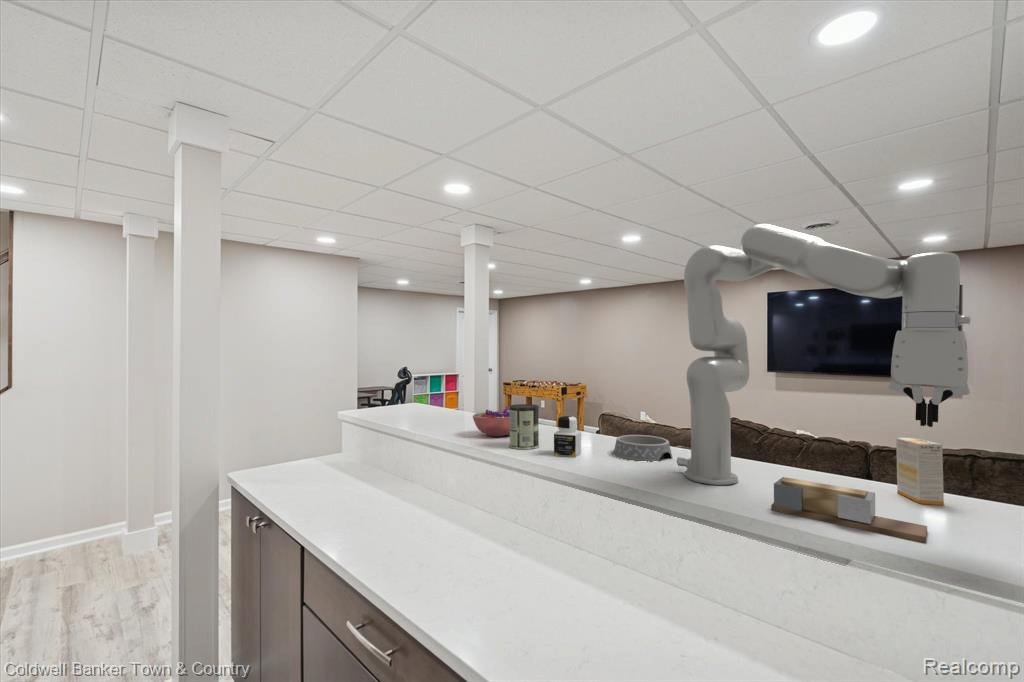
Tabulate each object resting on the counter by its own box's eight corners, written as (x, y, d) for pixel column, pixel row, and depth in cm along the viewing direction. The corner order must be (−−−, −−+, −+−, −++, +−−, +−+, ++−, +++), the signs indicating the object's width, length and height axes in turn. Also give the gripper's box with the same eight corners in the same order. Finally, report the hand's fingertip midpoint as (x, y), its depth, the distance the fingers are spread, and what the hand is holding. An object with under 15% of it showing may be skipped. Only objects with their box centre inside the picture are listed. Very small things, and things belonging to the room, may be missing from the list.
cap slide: (837, 517, 88) (837, 495, 89) (844, 508, 93) (843, 487, 94) (870, 524, 85) (870, 501, 85) (875, 514, 90) (875, 492, 90)
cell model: (471, 432, 187) (471, 404, 188) (520, 431, 190) (520, 403, 190) (472, 440, 171) (472, 409, 171) (526, 439, 173) (526, 409, 173)
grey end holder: (773, 505, 96) (773, 483, 96) (782, 497, 101) (782, 477, 101) (801, 511, 93) (801, 488, 93) (809, 502, 98) (809, 481, 98)
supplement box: (945, 505, 99) (944, 444, 99) (919, 504, 100) (918, 443, 100) (919, 494, 107) (918, 437, 107) (896, 492, 108) (895, 436, 108)
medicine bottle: (553, 455, 146) (553, 417, 146) (559, 451, 153) (559, 414, 153) (575, 457, 143) (575, 418, 144) (581, 452, 150) (581, 415, 150)
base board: (771, 509, 96) (771, 504, 96) (780, 501, 101) (780, 497, 101) (925, 542, 80) (925, 537, 80) (927, 531, 85) (927, 526, 85)
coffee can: (527, 442, 167) (527, 403, 167) (544, 447, 158) (544, 406, 159) (503, 445, 161) (503, 405, 161) (520, 451, 153) (520, 408, 153)
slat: (781, 504, 97) (781, 480, 97) (785, 500, 99) (785, 477, 99) (865, 521, 87) (864, 495, 87) (867, 517, 89) (867, 491, 89)
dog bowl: (682, 456, 146) (682, 439, 146) (648, 465, 134) (647, 447, 134) (637, 447, 159) (637, 432, 159) (602, 455, 148) (602, 438, 148)
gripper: (988, 323, 80) (985, 429, 80) (878, 324, 90) (876, 417, 90) (990, 322, 75) (987, 435, 75) (873, 322, 85) (871, 422, 85)
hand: (926, 425), depth 83 cm, fingers closed
